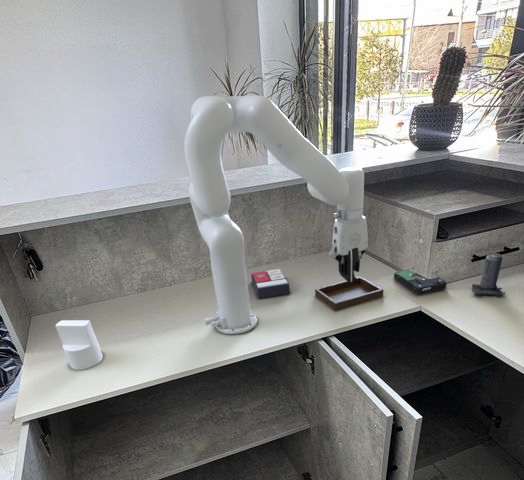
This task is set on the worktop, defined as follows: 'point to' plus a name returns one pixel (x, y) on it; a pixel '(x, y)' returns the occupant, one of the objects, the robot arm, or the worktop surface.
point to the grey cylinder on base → (489, 277)
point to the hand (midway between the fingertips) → (349, 271)
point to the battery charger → (351, 264)
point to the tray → (348, 293)
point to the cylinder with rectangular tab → (79, 343)
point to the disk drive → (419, 282)
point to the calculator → (270, 283)
